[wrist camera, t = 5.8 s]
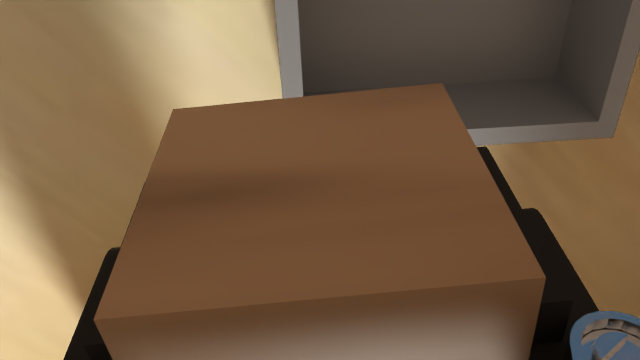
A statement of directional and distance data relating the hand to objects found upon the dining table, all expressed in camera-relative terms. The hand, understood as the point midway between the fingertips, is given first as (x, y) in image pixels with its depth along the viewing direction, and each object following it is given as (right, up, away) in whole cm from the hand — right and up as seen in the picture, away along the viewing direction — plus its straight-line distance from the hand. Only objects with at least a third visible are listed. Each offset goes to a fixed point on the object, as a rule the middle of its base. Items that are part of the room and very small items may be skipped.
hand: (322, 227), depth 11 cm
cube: (0, 0, +1) cm, 1 cm away
